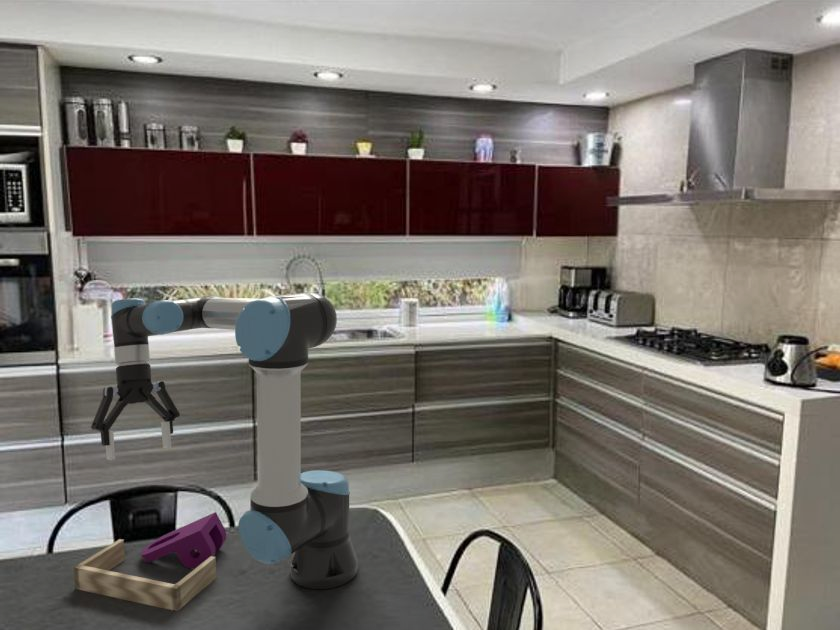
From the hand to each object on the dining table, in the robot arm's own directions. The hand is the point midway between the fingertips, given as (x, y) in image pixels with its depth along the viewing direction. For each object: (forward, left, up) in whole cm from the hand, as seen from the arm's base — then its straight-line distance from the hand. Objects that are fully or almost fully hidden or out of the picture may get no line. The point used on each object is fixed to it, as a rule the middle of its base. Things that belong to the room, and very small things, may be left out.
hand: (140, 454), depth 150 cm
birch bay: (-9, +11, -25) cm, 29 cm away
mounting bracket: (-9, -1, -25) cm, 27 cm away
